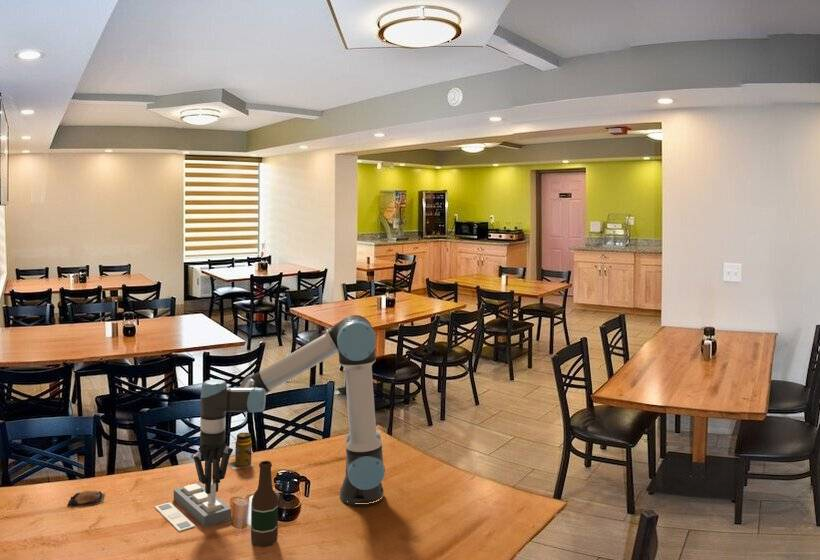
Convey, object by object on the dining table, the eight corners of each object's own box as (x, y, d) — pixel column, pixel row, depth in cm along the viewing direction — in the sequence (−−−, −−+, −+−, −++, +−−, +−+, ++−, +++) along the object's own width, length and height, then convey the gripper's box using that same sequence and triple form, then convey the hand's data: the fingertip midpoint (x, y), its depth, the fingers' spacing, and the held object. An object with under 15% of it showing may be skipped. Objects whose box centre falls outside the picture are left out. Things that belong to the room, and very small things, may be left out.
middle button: (211, 503, 203) (211, 495, 203) (198, 506, 200) (198, 499, 200) (205, 498, 206) (205, 491, 206) (192, 501, 203) (192, 494, 203)
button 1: (201, 495, 209) (201, 487, 208) (188, 498, 206) (188, 491, 205) (196, 490, 212) (196, 483, 212) (183, 493, 209) (183, 486, 209)
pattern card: (195, 526, 192) (195, 525, 192) (178, 531, 188) (179, 530, 188) (169, 503, 207) (169, 501, 206) (154, 507, 203) (154, 506, 203)
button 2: (221, 511, 198) (221, 504, 197) (208, 515, 195) (208, 508, 194) (215, 506, 201) (215, 499, 201) (202, 510, 198) (202, 502, 198)
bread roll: (105, 495, 212) (105, 484, 212) (103, 505, 204) (103, 494, 204) (70, 498, 208) (70, 487, 208) (66, 509, 200) (66, 498, 200)
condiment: (254, 466, 240) (255, 435, 239) (232, 470, 235) (233, 439, 234) (248, 459, 246) (248, 430, 245) (227, 463, 241) (227, 433, 240)
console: (231, 519, 198) (231, 508, 197) (204, 527, 192) (204, 516, 191) (199, 492, 215) (199, 482, 215) (173, 499, 209) (173, 489, 209)
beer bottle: (252, 534, 189) (254, 457, 187) (279, 534, 190) (280, 457, 187) (248, 547, 181) (249, 467, 179) (275, 547, 182) (277, 467, 180)
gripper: (227, 422, 202) (225, 492, 205) (187, 430, 194) (186, 503, 196) (237, 429, 197) (236, 501, 199) (197, 437, 188) (196, 512, 190)
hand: (211, 502), depth 197 cm, fingers closed
